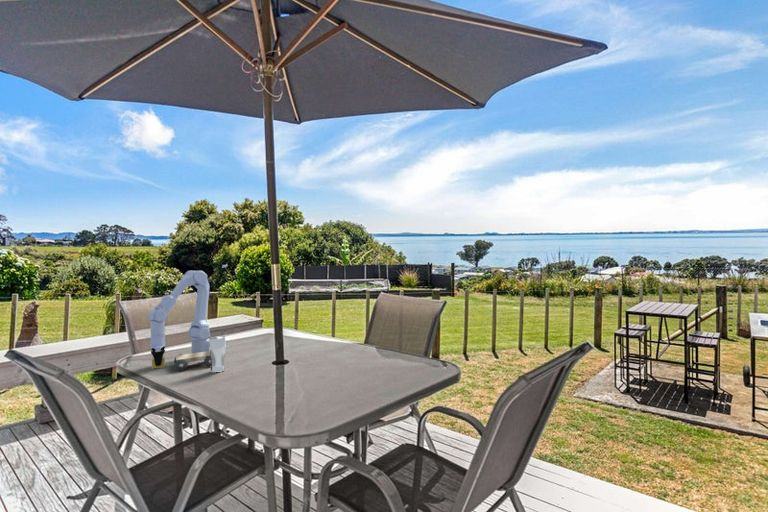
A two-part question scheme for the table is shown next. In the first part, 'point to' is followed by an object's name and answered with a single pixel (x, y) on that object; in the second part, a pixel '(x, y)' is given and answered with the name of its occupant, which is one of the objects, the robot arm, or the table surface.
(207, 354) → the dolly
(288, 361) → the table surface
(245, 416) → the table surface
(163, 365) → the block
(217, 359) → the beer glass
